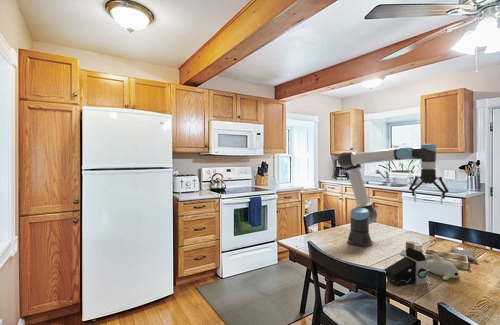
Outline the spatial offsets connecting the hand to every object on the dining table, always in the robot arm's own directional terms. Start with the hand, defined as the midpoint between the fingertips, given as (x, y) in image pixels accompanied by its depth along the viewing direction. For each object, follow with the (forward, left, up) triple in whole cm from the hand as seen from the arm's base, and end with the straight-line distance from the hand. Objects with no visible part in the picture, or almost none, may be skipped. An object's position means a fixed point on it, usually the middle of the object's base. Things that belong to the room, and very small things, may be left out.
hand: (427, 202), depth 159 cm
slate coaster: (-8, -13, -31) cm, 34 cm away
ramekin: (-7, -1, -31) cm, 32 cm away
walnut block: (-8, -13, -30) cm, 34 cm away
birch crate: (+9, -12, -31) cm, 34 cm away
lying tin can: (+17, -2, -31) cm, 35 cm away
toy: (+5, -34, -31) cm, 46 cm away
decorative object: (-6, -54, -31) cm, 62 cm away
